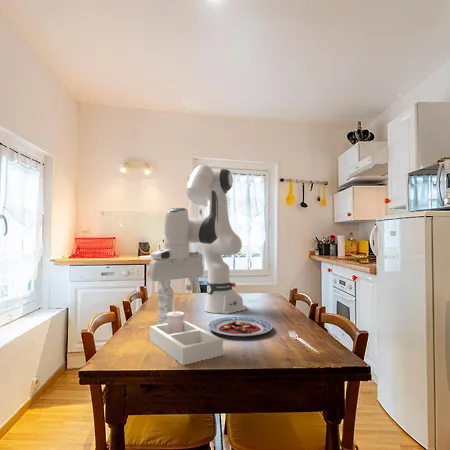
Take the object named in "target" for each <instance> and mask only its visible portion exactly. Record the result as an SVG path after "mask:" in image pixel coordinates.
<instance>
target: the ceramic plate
mask: <svg viewBox="0 0 450 450" xmlns="http://www.w3.org/2000/svg"><path fill="white" fill-rule="evenodd" d="M207 325H208V328H209V329H210V330H211V331H212V332H213V333H217V334H221V335H226V336H231V337H240V338H241V337H242V338H243V337H244V338H245V337H246V336H247V337H254V336H258V335H263V334H266V333H270V331H272V329H273V325H272V323H270V322H269V321H267V320H264V319H261V318H255V317H248V316H230V317H229V316H228V317H222V318H221V317H220V318H216V319H214V320H212V321H210V322H209V323H208V324H207ZM247 337H246V338H247Z"/></svg>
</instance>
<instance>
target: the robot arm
mask: <svg viewBox="0 0 450 450" xmlns="http://www.w3.org/2000/svg"><path fill="white" fill-rule="evenodd" d="M233 181H234V179H233V175H232V172H231V171H230V170H229V169H226V168H221V169H219V168H218V169H212V168H211V167H210V166H209V165H205V164H200V165H197V166H196V167H195V168H194V170H193V171H192V172H191V173H190V174H189V175H188V179H187V184H186V189H185V193H186V196H187V198H188V200H190V201H191V202H192V203H194V204H196V205H199V206H203V207H205V209H206V213H205V214H206V215H205V216H204V217H189V212H188V209H187V208H186V207H185V208H184V207H174V208H173V207H172V208H169V209H168V210H166V211H165V212H166V213H165V216H164V217H165V218H164V235H165V240H164V247H163V248H161V249H158V250H155V251H153V252H151V253H150V257H151V258H152V259H150V262H149V265H148V266H149V267H148V279H149V281H152V282H158V284H159V286H160V287H161V288H162V293H163V294H164V293H168V291H167V290H168V288H166V287H165V286H164V284H165V280H170V281H171V280H173V281H174V280H181V279H182V280H183V279H188V281H189V282H188V283H187V284H186V285H185V290H186V291H192V288H193V285H194V282H195V281H196V280H195V278H200V277H201V278H202V276H204V265H203V257H204V260H205V263H206V266H207V282H206V293H207V296H206V300H205V301H206V303H205V307H204V311H205V312H208V313H210V314H211V313H212V314H226V315H227V314H228V315H229V313H230V314H233V312H234V313H238V312H241V310H242V311H246V310H248V306H247V305H244V302H243V301H244V300H243V298H242V297H243V296H241V295H240V294H239V293H238V292H236V291H235V290H234V289H233V287H234V288H235V287H236V286H237V283H236V282H230V266H229V264H227V263H226V262H225V261H224V259H223V256H234V255H238V254H239V253H240V252H241V249H242V246H243V244H242V240H241V237H240V236H239V235H238V234H236V233H235V231H234V230H233V228H232V226H231V224H230V223H231V222H230V219H229V218H230V217H229V208H228V197H227V194H228V192H229V191H230V189H231V188H232V187H233V183H234V182H233ZM190 244H196V246H197V249H198V251H190ZM245 309H246V310H245ZM237 311H238V312H237Z"/></svg>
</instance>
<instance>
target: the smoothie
mask: <svg viewBox="0 0 450 450" xmlns="http://www.w3.org/2000/svg"><path fill="white" fill-rule="evenodd" d="M175 302H176V301H175V300H173V301H172V312H168V313H167V314H166V317H167V320H168V330H169V334H174V333H179V332H181V331H182V323H183V321H184V317H185V312H184V311H177V310H175V308H176V306H175V305H176V303H175Z"/></svg>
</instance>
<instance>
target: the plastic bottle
mask: <svg viewBox="0 0 450 450" xmlns="http://www.w3.org/2000/svg"><path fill="white" fill-rule="evenodd" d="M164 286H165V287H166V288H168V290H167V291H168V293H164V294H163V293H162V288H161V286H160V287H159V289H158V290H157V300H158V314H157V315H158V316H157V322H156V325H160V324H166V323H168V320H167V317H166V314H167V313H168V312H173V301H174V300H173V299H174V289H173V288H172V286H171V280H165V284H164Z"/></svg>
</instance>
